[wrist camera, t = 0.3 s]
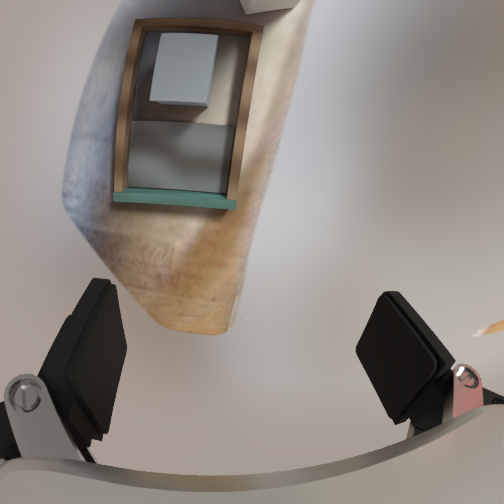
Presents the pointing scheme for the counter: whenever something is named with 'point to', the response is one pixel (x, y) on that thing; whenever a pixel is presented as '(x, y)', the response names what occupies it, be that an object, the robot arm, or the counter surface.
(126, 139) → the bay
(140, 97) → the counter surface
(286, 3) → the milk carton
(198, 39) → the grey block
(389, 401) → the robot arm
